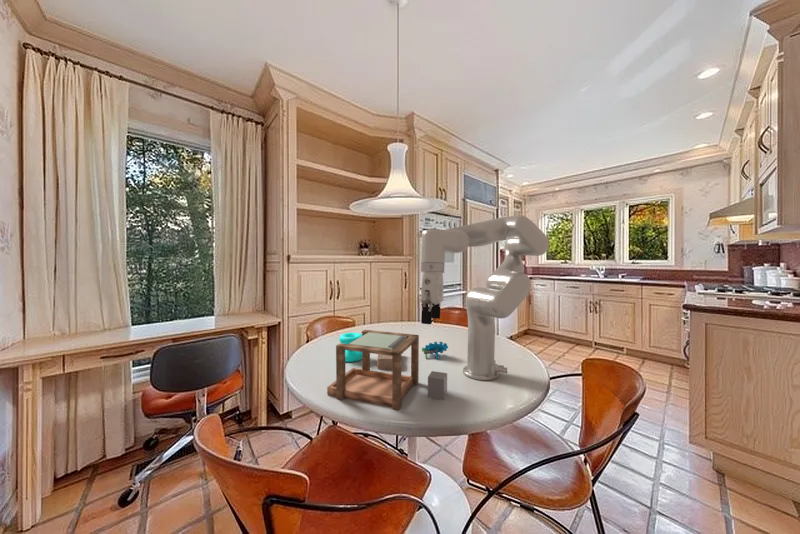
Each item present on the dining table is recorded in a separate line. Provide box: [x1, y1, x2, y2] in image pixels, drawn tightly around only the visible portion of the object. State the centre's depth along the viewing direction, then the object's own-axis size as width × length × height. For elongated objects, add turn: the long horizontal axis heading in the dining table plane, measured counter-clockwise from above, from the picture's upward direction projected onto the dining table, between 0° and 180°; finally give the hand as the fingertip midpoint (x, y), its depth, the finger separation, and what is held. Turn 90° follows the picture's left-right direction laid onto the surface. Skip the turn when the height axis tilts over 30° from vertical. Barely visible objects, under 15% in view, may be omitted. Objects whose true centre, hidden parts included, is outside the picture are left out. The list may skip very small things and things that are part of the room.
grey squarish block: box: [427, 370, 448, 401], centre depth 98 cm, size 5×5×6 cm
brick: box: [376, 354, 392, 370], centre depth 127 cm, size 17×8×5 cm, turn 179°
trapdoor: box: [349, 332, 407, 350], centre depth 101 cm, size 14×14×1 cm
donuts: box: [338, 332, 362, 363], centre depth 131 cm, size 10×10×10 cm
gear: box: [421, 341, 449, 360], centre depth 132 cm, size 11×6×10 cm
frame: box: [326, 329, 420, 411], centre depth 102 cm, size 24×20×16 cm
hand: (431, 320), depth 102 cm, fingers open, 9 cm apart
